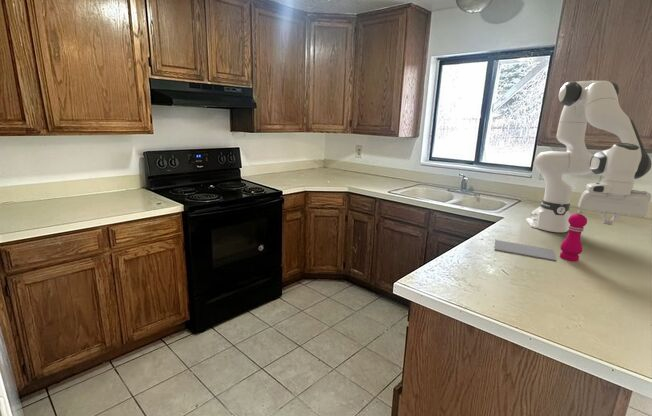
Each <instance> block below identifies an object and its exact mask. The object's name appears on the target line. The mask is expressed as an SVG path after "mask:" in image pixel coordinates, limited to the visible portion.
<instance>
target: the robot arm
mask: <svg viewBox="0 0 652 416" xmlns="http://www.w3.org/2000/svg"><path fill="white" fill-rule="evenodd" d="M619 93H620V87H619V84H618V83H616V82H613V81H609V80H592V79H591V80H580V81H579V80H578V81H575V80H573V81H568V82H565V83H564V84H562V86H561V87H560V88H559V91H558V102H559V103H560V105H562V106H563V108H562V110H561V113H560V117H559V121H558V125H557V131H556V136H555V137H556V139H557V141H558V142H559V143H560V144H563V145H565V148H566V151H559V150H558V151H557V150H550V151H541V152H539V153H538V154H537V155H536V157H535V158H534V163H533V165H534V167H535V169H536V171H537V172H539V173H540V174H541V176H542V177H543V180H544V183H545V187H544V188H545V189H544V196H543V198H542V199H541V201H540V206H538V207H537V208H536V209H534V210H533V211H532V212H530V214H529V216H530V217H526V218H525V222H527V224H528V225H529V226H530V227H531V228H534V229H540V230H543V231H546V232H553V233H566V232H569V229H568V227H569V225H570V224H569V222H568V219H569V217H570V216H571V213H569V211H570V208H571V203H570V202H571V197H572V193H573V187H572V186H571V185H570V184H569V183H568V182H566V181H564V180H563V175H566V176H567V175H569V176H585V175H589V174H591V173H593V174H594V175H599V176H604V177H603V178H602V181H597V182H591V183H587V184H586V186H585V188H586V189H585V190H584V191H582V193H581V195H580V197H579V200H578V203H577V206H578V208H579V209H580V210H581V211H582V210H583V211H591V212H600V215H601V218H602V222H601V223H602V224H603V225H608V226H614V225H613V224H614V221H616V220H617V219H618V218H619V217H620V215H622V216H623V215H624V216H631V217H639V218H644V217H646V216H647V214H648V209H649V203H651V200H652V194H651V193H650V192H648V191H647V190H637V189H636V190H635V189H633V188H634V184H635V180H638V179H639V178H642V177H643V176H645V175H646V174H648V173H649V172H650V171H651V169H652V159H651V157H650V156H649V154H648V153H647V151H646V149H645V147H644V145H643V142H642V140H641V138H640V135H639V132H638V129H637V128H636V125H635V123H634V120H633V119H632V118H631V117H630V116H629V115H627V114H626V112H624V110H623V108H621V106H620V102H619V98H618V97H619ZM588 124H589V126H592V127H594V128H596V129H598V130H603V131H606V132H608V133H610V134H611V133H612V134H614V135H615V136H617V137H618V139H620V141H621V142H617V143H614V144H613V145H612V147H610V148H608V149H604V150H599V151H597V152H596V153H594V154H592V153H591V152H589V149H587V146H586V141H585V138H586V130H587V125H588ZM607 214H612V217H611V218H610V219H609V218H607V217H606V216H607Z"/></svg>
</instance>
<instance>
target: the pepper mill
mask: <svg viewBox="0 0 652 416" xmlns="http://www.w3.org/2000/svg"><path fill="white" fill-rule="evenodd" d="M568 222H569V227H568V229H569V230H568V234H567V236H566V237H565V239H564V240H562V242H561V244H560V247H559V248H560V251H561V252H560V254H559V258H561V259H562V260H564V261H569V262H573V263H575V262H578V261H579V260H580V254H582V253H583V245H582V240H581V235H582V232H584V227H586V225H587V223H588V219H587V217H586V216H585V215H583V211H582V210H581V209H580V210H577V211H576V213H574V214H570V217H569V219H568Z"/></svg>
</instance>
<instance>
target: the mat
mask: <svg viewBox="0 0 652 416" xmlns="http://www.w3.org/2000/svg"><path fill="white" fill-rule="evenodd" d="M494 251H496V252H502V253H507V254H513V255H520V256H524V257H529V258H536V259H541V260H545V261H552V262H557V257H556V254H555V252H554V249H553V248H545V247H541V246H540V247H539V246H533V245H529V244H521V243H517V242H516V243H515V242H511V241H505V240H504V241H503V240H498V239H495V243H494Z"/></svg>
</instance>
